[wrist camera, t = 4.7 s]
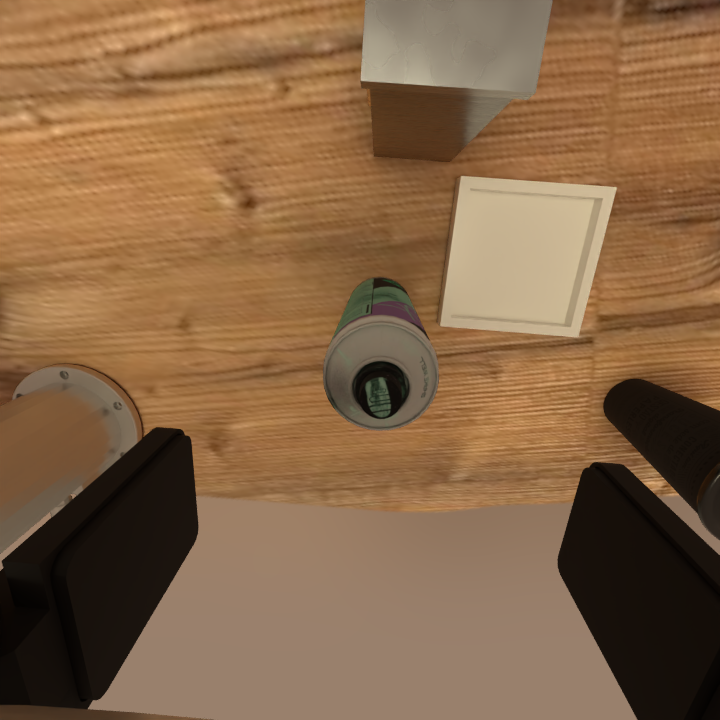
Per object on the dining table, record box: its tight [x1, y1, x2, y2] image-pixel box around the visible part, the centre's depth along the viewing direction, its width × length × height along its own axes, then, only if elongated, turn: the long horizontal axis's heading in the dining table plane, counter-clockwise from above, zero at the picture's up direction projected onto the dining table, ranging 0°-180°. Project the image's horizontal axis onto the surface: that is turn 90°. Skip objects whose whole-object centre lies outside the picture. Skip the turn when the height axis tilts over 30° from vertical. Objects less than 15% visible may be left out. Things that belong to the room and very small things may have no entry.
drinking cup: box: [604, 379, 720, 540], centre depth 26 cm, size 8×8×20 cm
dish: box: [437, 176, 617, 337], centre depth 32 cm, size 12×12×2 cm
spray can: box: [323, 277, 439, 431], centre depth 25 cm, size 6×6×20 cm
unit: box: [361, 0, 553, 162], centre depth 21 cm, size 9×7×17 cm
